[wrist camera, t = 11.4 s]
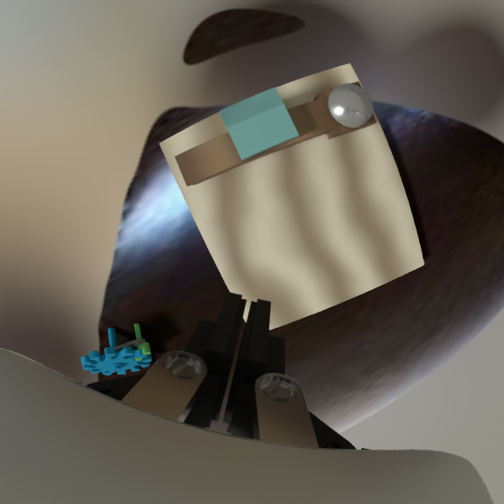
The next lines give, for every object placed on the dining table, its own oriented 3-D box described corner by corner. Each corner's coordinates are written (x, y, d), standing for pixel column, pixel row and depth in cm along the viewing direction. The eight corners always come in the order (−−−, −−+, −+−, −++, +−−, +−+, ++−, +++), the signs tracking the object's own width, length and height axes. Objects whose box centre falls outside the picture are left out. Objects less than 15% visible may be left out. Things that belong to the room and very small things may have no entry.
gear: (113, 382, 38) (67, 370, 29) (108, 347, 41) (64, 329, 32) (172, 363, 37) (130, 349, 29) (163, 326, 40) (123, 303, 32)
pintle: (346, 92, 25) (360, 78, 20) (362, 126, 26) (379, 119, 21) (312, 103, 26) (320, 91, 21) (329, 139, 27) (340, 132, 22)
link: (349, 90, 25) (358, 81, 21) (365, 127, 26) (376, 122, 22) (183, 152, 28) (172, 150, 24) (198, 189, 29) (189, 192, 25)
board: (346, 67, 26) (350, 63, 24) (418, 260, 31) (424, 264, 30) (164, 144, 29) (159, 143, 28) (253, 329, 35) (252, 335, 33)
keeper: (274, 103, 26) (275, 87, 21) (293, 142, 27) (298, 135, 22) (228, 122, 27) (218, 111, 21) (247, 162, 28) (241, 159, 22)
